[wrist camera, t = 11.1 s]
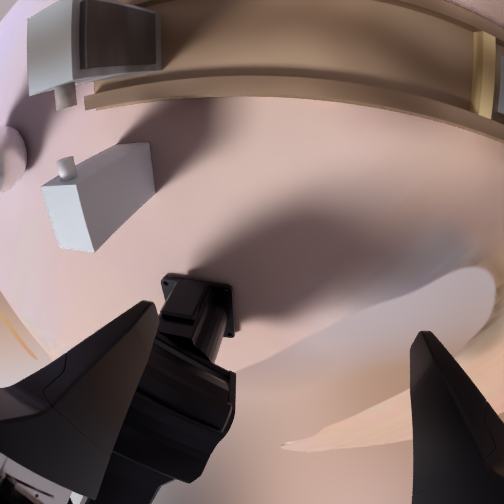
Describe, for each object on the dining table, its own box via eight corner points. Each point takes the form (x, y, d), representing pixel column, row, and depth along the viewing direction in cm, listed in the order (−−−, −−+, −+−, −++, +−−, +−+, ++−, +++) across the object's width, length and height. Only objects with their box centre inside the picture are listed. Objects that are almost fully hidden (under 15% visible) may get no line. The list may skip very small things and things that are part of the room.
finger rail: (530, 153, 13) (608, 210, 5) (105, 107, 17) (8, 144, 10) (539, 59, 8) (624, 80, 1) (102, 10, 13) (3, 6, 5)
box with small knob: (147, 127, 18) (71, 163, 12) (155, 193, 21) (94, 252, 14) (109, 131, 19) (32, 168, 12) (119, 192, 21) (55, 246, 15)
